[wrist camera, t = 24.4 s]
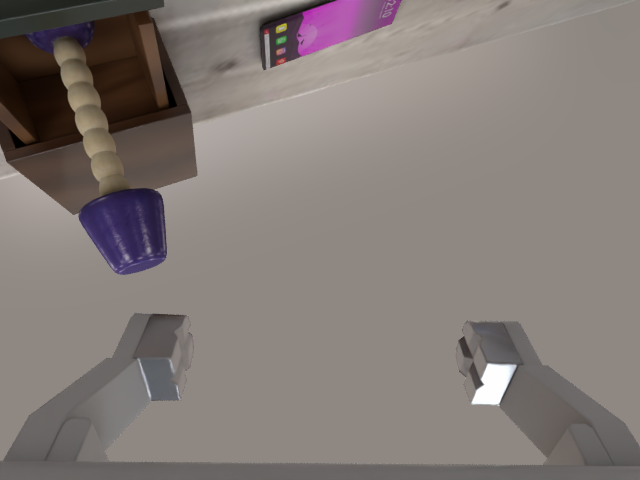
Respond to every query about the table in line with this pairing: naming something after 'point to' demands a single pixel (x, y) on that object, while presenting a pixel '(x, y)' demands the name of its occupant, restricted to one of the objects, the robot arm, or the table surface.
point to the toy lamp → (106, 164)
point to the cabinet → (131, 147)
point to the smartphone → (322, 28)
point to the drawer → (101, 58)
